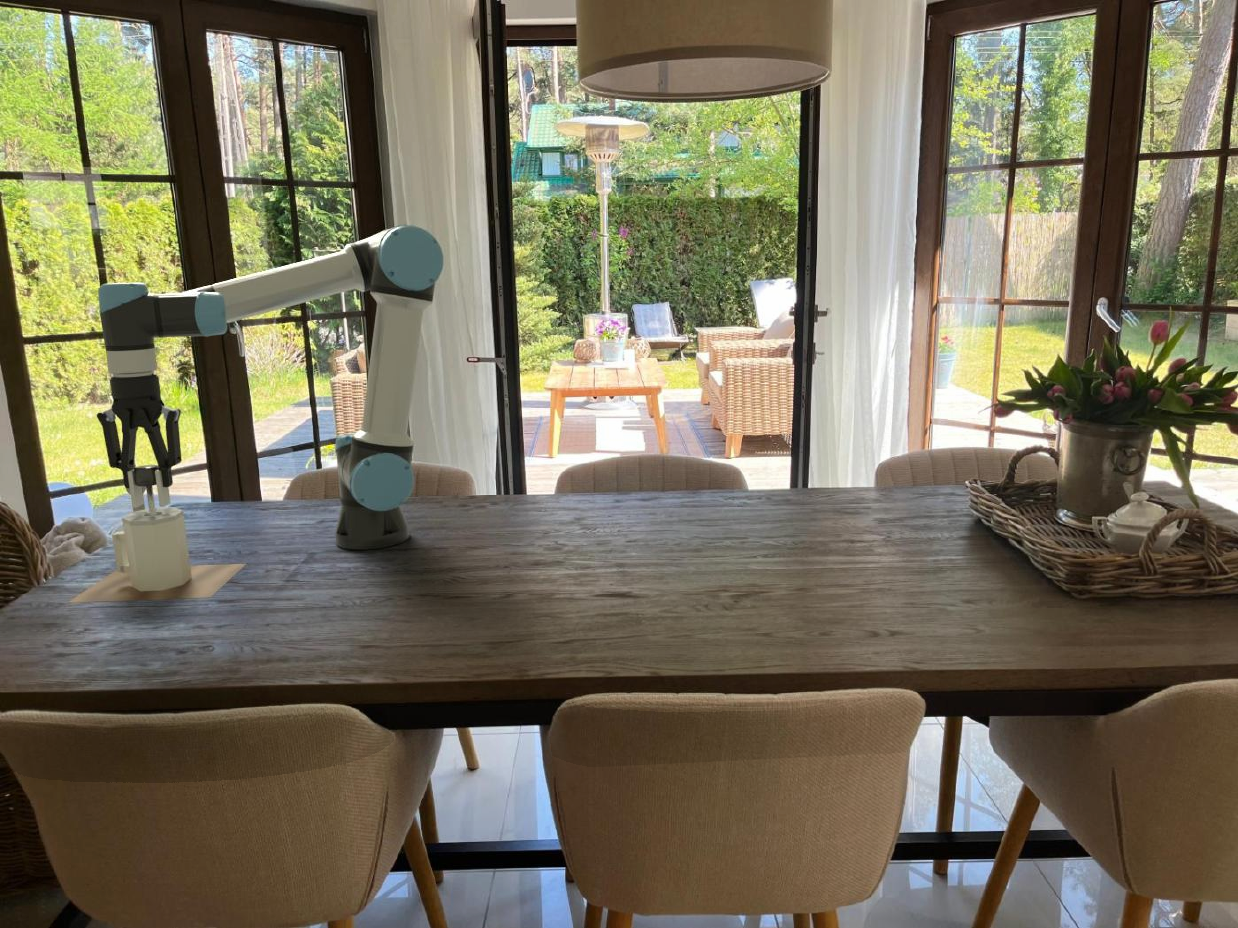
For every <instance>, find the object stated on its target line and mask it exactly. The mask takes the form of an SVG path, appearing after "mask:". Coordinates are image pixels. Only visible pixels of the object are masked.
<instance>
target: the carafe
mask: <svg viewBox="0 0 1238 928" xmlns="http://www.w3.org/2000/svg"><path fill="white" fill-rule="evenodd" d="M155 510H156V516H150V512H149V508H145V510H140V511H135V512H133V511H131V512H129V513H128V514H126V515H125V516H123V517H121V521H122V527H123V530H121V531H120V530H119V531H116V532H114V533H113V534H112V535H111V536H112V544H113V551H114V558H115V564H116V570H117V572H121V573H128V572H130V577H131V584H132V587H134V588H135V589H137V590H139V591H161V590H166V589H169V588H173V587H177V586H181V585H184V584H185V583H186V582H187V581H188V580H190V579H191V578H192V575H191V567H190V566H191V561H190V553H189V545H188V537H187V530H186V522H185V513H184V509H180V508H177V507H175V506H172V507H171V506H170V507H168V506H167V507H166V506H164V507H155Z"/></svg>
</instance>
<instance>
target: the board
mask: <svg viewBox="0 0 1238 928" xmlns="http://www.w3.org/2000/svg"><path fill="white" fill-rule="evenodd" d="M246 565H247V563H233V564H231V563H230V564H204V565H203V564H201V565H190V567H191V575H192V578H191V579H190V580H188V581H187V582H186V583H185V584H184V585H181V586H177V587H173V588H169V589H166V590H161V591H139V590H137V589H135V588H134V587H132V584H131V577H130V572H128V573H121V572H117V569H115V570H114V571H112V572H111V573H109V574H108V575H107V576H105V577H103V578H102V579H100V580H99V581H97V582H96V583H95V584H93V585H92V586H90V587H89V588H87V589H86V590H85V591H83V592H81V593H80V594H78V595H77V596H76V597H74V598H72V599H71V600H69V601H67V604H75V603H76V604H79V603H81V604H83V603H98V602H99V603H105V602H110V603H111V602H129V601H132V602H133V601H134V602H135V601H158V600H162V601H163V600H181V599H182V600H184V599H185V600H186V599H209V598H212V597H213V596H214V595H216V593H218V591H219V590H221V589H222V588H223V587H224V586H225V585H226V584H227V583H228V582H229V581H230V580H231V579H232V578H234V577H235V576H236V575H237V574H238V573H239V572H240V571H241V570H242V569H243V568H244V567H245V566H246Z"/></svg>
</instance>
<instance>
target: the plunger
mask: <svg viewBox="0 0 1238 928" xmlns="http://www.w3.org/2000/svg"><path fill="white" fill-rule="evenodd" d="M157 468H159V466H158V464H145V465H140V466H135V467H133V469H134V474H135V481H136V486H141V487H143V486H146V490H145V492H146V496H147V498H146V499H147V504H148V509H149V512H150V516H156V510H155V508H156V504H155V498H154V497H155V496H154V491H153V490H154V488H153V486H157V484H156V476H155V471H156V470H158V469H157Z"/></svg>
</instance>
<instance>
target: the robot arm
mask: <svg viewBox="0 0 1238 928" xmlns="http://www.w3.org/2000/svg"><path fill="white" fill-rule="evenodd" d="M443 267H444V254H443V250H442V248H441V245H440V243H439V241H438V240H437V239H436V237H434V235H433V234H432V233H430V232H429V231H428V230H425V229H424V228H421V227H419V226H415V225H412V224H411V225H409V224H399V225H396V226H393V227H390V228H385V229H384V230H382V231H380V232H378V233H376V234H373V235H372V236H369V237H366V238H364V239H361V240H358V241H355V242H351V243H348V244H345V247H344V248H343V250H341V251H338V252H334V253H330V254H326V255H321V256H318V257H314V258H311V259H307V260H303V261H299V262H296V263H295V262H294V263H291V264H287V265H283V266H280V267H279V266H278V267H276V268H271V269H269V270H268V269H267V270H265V271H260V272H256V273H253V274H249V275H248V274H247V275H245V276H240V277H237V278H233V279H229V280H225V281H221V282H217V283H214V284H212V285H210V284H209V285H206V286H201V287H197V288H194V289H188V290H183V291H180V292H177V293H151V292H150V293H149V290H148V286H147V285H146V284H145V283H144V282H115V283H114V282H113V283H112V282H111V283H107V282H106V283H103V284H101V285H100V286H99V288H98V289H97V296H98V306H99V307H98V308H99V312H98V313H99V317H100V322H101V329H102V336H103V342H104V348H105V354H106V355H105V356H106V362H107V363H106V365H107V371H108V373H109V374H110V375H112V376H110V378H109V384H110V385H109V386H110V391H111V397H112V400H113V401H112V405H111V408H110V409H107V410H103V411H101V412H97V414H96V418H97V419H98V421H99V423H100V425H101V426H102V427H101V428H102V431H103V437H104V442H105V448H106V454H107V459H108V463H109V464H108V465H109V467H110V468H112V469H118V470H121V472H122V477H123V485H124V487H125V489H126V488H130V494H131V495H130V494H129V495H130V500H131V505H132V506H131V507H132V509H133V508H137V507H139V506H140V505H142V504H145V500H144V501H143V497H144V494H142V487H141V486H136V481H135V474H134V468H135V467H137V465H136V464H135V457H136V456H135V455H136V445H137V432H138V430H139V428H140V429H141V428H142V429H143V430H144V432H145V434H146V435H147V437H148V440H149V443H150V446H151V449H152V452H153V454H154V457H155V460H156V463H157V465H158V466H159V468H157V469H158V470H156V471H155V476H156V484H157V485H156V489H157V490H156V491H157V497H158V506H159V508H163V507H166V506H168V505H169V504H171V496H170V488H169V487H171V486H173V482H174V481H173V474H172V468H173V467H175V466H177V465H179V464H180V463H181V462H182V461H183V460H182V450H181V449H182V448H181V440H180V438H181V437H180V426H179V420H180V417H181V414H182V411H181V409H180V408H171V407H169V406H166V405H165V403H164V401H163V400H162V398H161V397H162V396H161V386H160V385H161V384H160V377H159V375H158V373H155V372H156V371H157V370H158V362H157V356H156V348H155V341H154V340H155V339H157V338H159V339H163V338H179V337H180V338H183V337H184V338H185V337H186V338H187V337H189V338H190V337H205V338H206V337H207V338H208V337H211V336H217V335H218V336H219V335H224V334H226V332H227V331H228V324H229V323H233V322H236V321H240V320H244V319H248V318H251V317H255V316H259V315H262V314H266V313H270V312H274V311H277V310H281V309H285V308H288V307H293V306H296V305H300V304H304V303H307V302H310V301H315V300H318V299H322V298H326V297H330V296H333V295H337V294H342V293H345V292H349V291H352V290H357V291H359V292H361V293H365V292H368V291H370V292H369V293H370V295H371V297H372V298H373V299H374V300H375V302H376V310H375V311H376V312H375V320H374V328H373V336H372V343H371V353H370V357H369V358H370V359H369V367H368V375H367V383H366V390H365V398H364V399H365V400H364V407H363V408H364V409H363V416H362V423H361V427H360V429H358V430H357V431H356V432H355V433H350V434H349V433H348V434H341V435H338V436H337V437H336V439H335V448H334V452H335V454H336V463H337V464H336V465H337V475H338V487H339V497H340V499H339V500H340V510H339V514H338V519H337V523H336V527H335V531H334V541H335V545H336V546H338V547H339V548H343V549H345V550H356V551H357V550H361V551H365V550H377V549H382V548H388V547H392V546H396V545H399V544H401V543H403V542H405V541H407V540H408V539H410V532H409V531H410V530H409V527H410V526H409V524H408V522H407V519H406V517H405V515H404V513H403V510H402V508H401V505H402V504H404V503H405V502H406V501H407V500H408V499H409V498H410V496H411V494H412V492H413V489H414V485H415V473H414V471H413V468H412V459H413V452H414V451H413V450H414V441H413V440H412V438H411V437H410V436H409V434H408V427H409V420H410V412H411V405H412V398H413V390H414V383H415V374H416V368H417V361H418V352H419V345H420V336H421V330H422V329H421V328H422V321H423V313H424V311H425V310H426V309H428V307H430V306H431V305H432V304H433V302H434V301H433V300H434V294H435V288H436V287H435V286H436V283H437V281H438V280H439V278H440V276H441V274H442V271H443V269H444V268H443ZM162 414H163V419H164V420H165V433H166V434H165V435H166V436H165V437H166V443H165V440H164V438H163V434H162V431H161V425H160V422H159V418H160V417H161V416H162ZM116 419H119V421H120V422H122V425H121V433H122V439H121V440H122V441H120V436H119V433H118V427H117V422H116ZM120 442H121V443H120Z"/></svg>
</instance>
